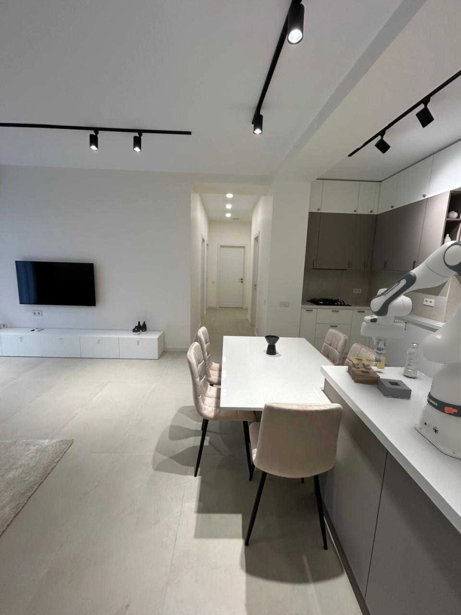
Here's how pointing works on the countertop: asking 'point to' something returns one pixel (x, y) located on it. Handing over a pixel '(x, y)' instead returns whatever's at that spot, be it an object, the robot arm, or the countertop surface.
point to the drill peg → (379, 350)
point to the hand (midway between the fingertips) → (380, 345)
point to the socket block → (363, 374)
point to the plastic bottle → (412, 360)
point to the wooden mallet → (379, 364)
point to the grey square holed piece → (394, 388)
